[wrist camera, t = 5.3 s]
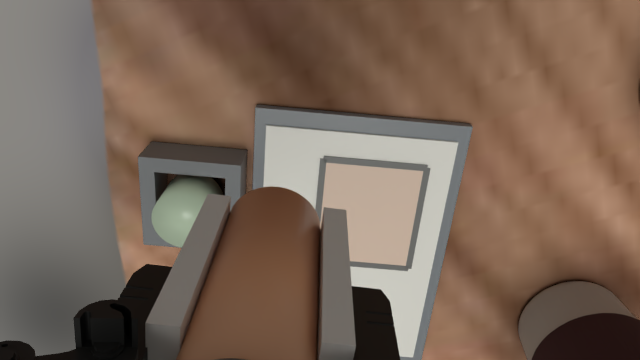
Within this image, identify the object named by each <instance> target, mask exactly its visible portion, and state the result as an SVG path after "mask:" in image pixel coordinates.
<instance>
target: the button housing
mask: <svg viewBox="0 0 640 360" xmlns="http://www.w3.org/2000/svg"><path fill="white" fill-rule="evenodd" d="M138 165H139V181H140V196H141V211H142V227H143V242H144V244H145V245H156V246H168V247H177V246H174V245H171V244H169V243H167V242H166V241H164V240H163V239H162V238H161V237H160V236H159V235H158V234H157V232H156V231H155V229H154V227H153V224H152V219H151V216H152V210H153V208H154V206H155V204H156V203H157V201H158V200H159V198H160V197H161V195H162V194H163V192H164V191H165V189H166V188H167V186H168V185H167V173H170V174H182V175H193V176H205V177H216V178H225V196H231V203H230V211H231V209H232V207H233V206H234V204H235V203H236V202H237V200H238V199H239V198H241V197H242V196H243V195H245V194H246V172H247V150H242V149H231V148H220V147H208V146H197V145H186V144H174V143H163V142H152V141H151V142H150V144H149V145H148V146H147V147H146V148H145V149H144V150H143V152H142V153H141V154H140V155H139V156H138ZM180 248H182V247H180Z"/></svg>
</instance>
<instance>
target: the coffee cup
mask: <svg viewBox="0 0 640 360" xmlns="http://www.w3.org/2000/svg"><path fill="white" fill-rule="evenodd" d="M518 332H519V338H520V341H521V343H522V346H523V349H524V352H525V354H526V357H527V360H640V320H638V319H637V318H636V317H635V316H634V315H633V314H632V313H631V312H630V311H629V310H628V309H627V308H626V307H625V306H624V305H623V303H622V302H621V301H620V300H619V299H618V298H617V297H616V296H615V295H614V294H613V293H612V292H610V291H609V290H607V289H606V288H604V287H602V286H600V285H597V284H594V283H590V282H583V281H572V282H565V283H560V284H557V285H554V286H552V287H549V288H547V289H545V290H543V291H542V292H540V293H539V294H538V295H536V296H535V297H534V298H533V299H532V300H531V301H530V302H529V303H528V304H527V305H526V307H525V309H524V310H523V312H522V314H521V317H520V320H519V327H518Z"/></svg>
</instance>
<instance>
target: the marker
mask: <svg viewBox="0 0 640 360" xmlns="http://www.w3.org/2000/svg"><path fill="white" fill-rule="evenodd" d="M320 230H321V228H320V221H319V217H318V215H317V212H316V211H315V209H314V207H313V206H312V205H311V203H310V202H309V201H308V200H307V199H305V198H304V197H303V196H302V195H300V194H298V193H297V192H294V191H292V190H290V189H286V188H282V187H273V186H270V187H262V188H258V189H254V190H252V191H250V192H248V193H246V194H245V195H243V196H242V197H241V198H239V199H238V200H237V202H236V203H235V204H234V206H233V207H232V209H231V211H230V214H229V217H228V219H227V222H226V225H225V228H224V230H223V233H222V236H221V239H220V241H219V244H218V247H217V250H216V252H215V255H214V258H213V261H212V263H211V266H210V269H209V272H208V274H207V277H206V280H205V283H204V285H203V288H202V291H201V294H200V296H199V299H198V302H197V305H196V307H195V310H194V313H193V316H192V318H191V321H190V324H189V327H188V329H187V332H186V335H185V338H184V340H183V343H182V346H181V348H180V351H179V353H178V355H177V358H176V360H317V340H318V302H319V263H320Z"/></svg>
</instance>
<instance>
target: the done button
mask: <svg viewBox="0 0 640 360" xmlns="http://www.w3.org/2000/svg"><path fill="white" fill-rule="evenodd" d="M208 194H216V195H223V193H222V190H221V188H220V186H219V185H218V183H217V182H216V181H215V180H214V179H212V178H211V177H205V176H193V175H182V174H179V175H177V176H176V177H174V178H173V179H172V180H171V182H170V183H169V184H168V186H167V188H166V189H165V191H164V192H163V194H162V195H161V197H160V198H159V200H158V201H157V203H156V204H155V206H154V208H153V210H152V216H151V219H152V224H153V227H154V229H155V231H156V232H157V234H158V235H159V236H160V237H161V238H162V239H163V240H164V241H166V242H167V243H169V244H171V245H174V246H177V247H182V246H183V244H184V242H185V240H186V238H187V236H188V234H189V232H190V230H191V228H192V226H193V224H194V222H195V220H196V217H197V215H198V213H199V211H200V209H201V207H202V205H203V203H204V201H205V199H206V197H207V195H208Z"/></svg>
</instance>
